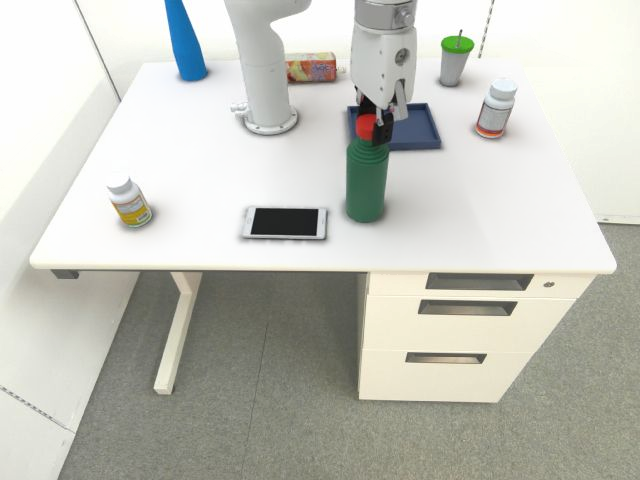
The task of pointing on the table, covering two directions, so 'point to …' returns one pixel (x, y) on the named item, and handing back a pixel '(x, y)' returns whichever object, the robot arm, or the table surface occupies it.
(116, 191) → the supplement bottle
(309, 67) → the juice carton
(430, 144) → the tray
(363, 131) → the cap
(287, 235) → the smartphone
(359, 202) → the water bottle
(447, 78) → the cup
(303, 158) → the table surface
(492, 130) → the pill bottle
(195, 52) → the bottle
